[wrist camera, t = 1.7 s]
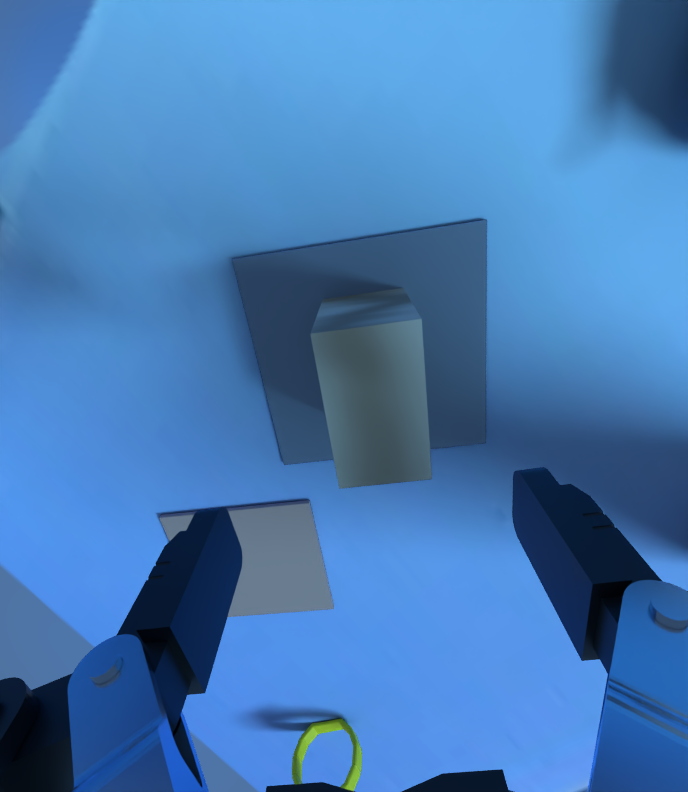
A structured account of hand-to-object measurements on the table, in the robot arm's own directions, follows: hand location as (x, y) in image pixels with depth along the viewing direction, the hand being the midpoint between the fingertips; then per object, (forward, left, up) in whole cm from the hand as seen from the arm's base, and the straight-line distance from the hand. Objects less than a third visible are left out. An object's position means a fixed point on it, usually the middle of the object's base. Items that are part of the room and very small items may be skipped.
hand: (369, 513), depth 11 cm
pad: (+9, +14, -11) cm, 20 cm away
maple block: (-1, 0, -11) cm, 11 cm away
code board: (-1, 0, -11) cm, 11 cm away
